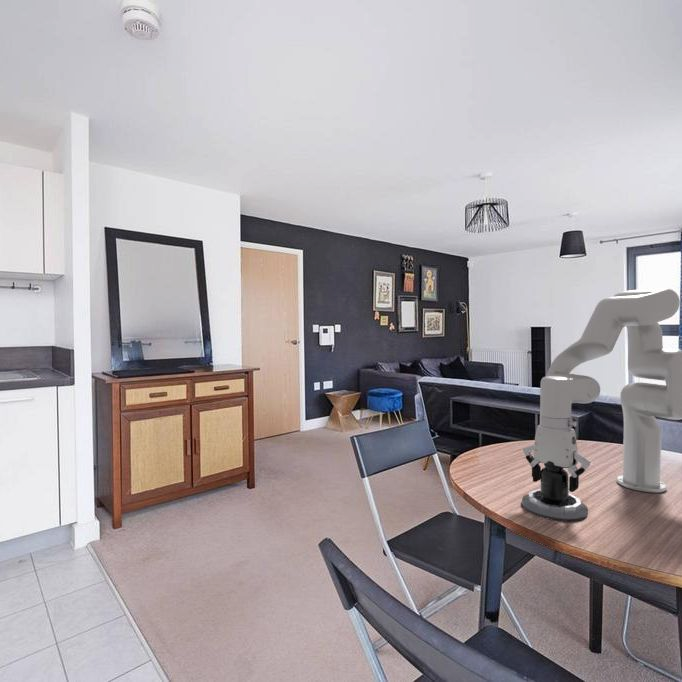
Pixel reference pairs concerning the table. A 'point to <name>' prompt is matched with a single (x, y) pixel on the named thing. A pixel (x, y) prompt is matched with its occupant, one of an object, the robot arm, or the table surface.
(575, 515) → the rosette plate
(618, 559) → the table surface
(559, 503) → the supplement bottle
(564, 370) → the robot arm
